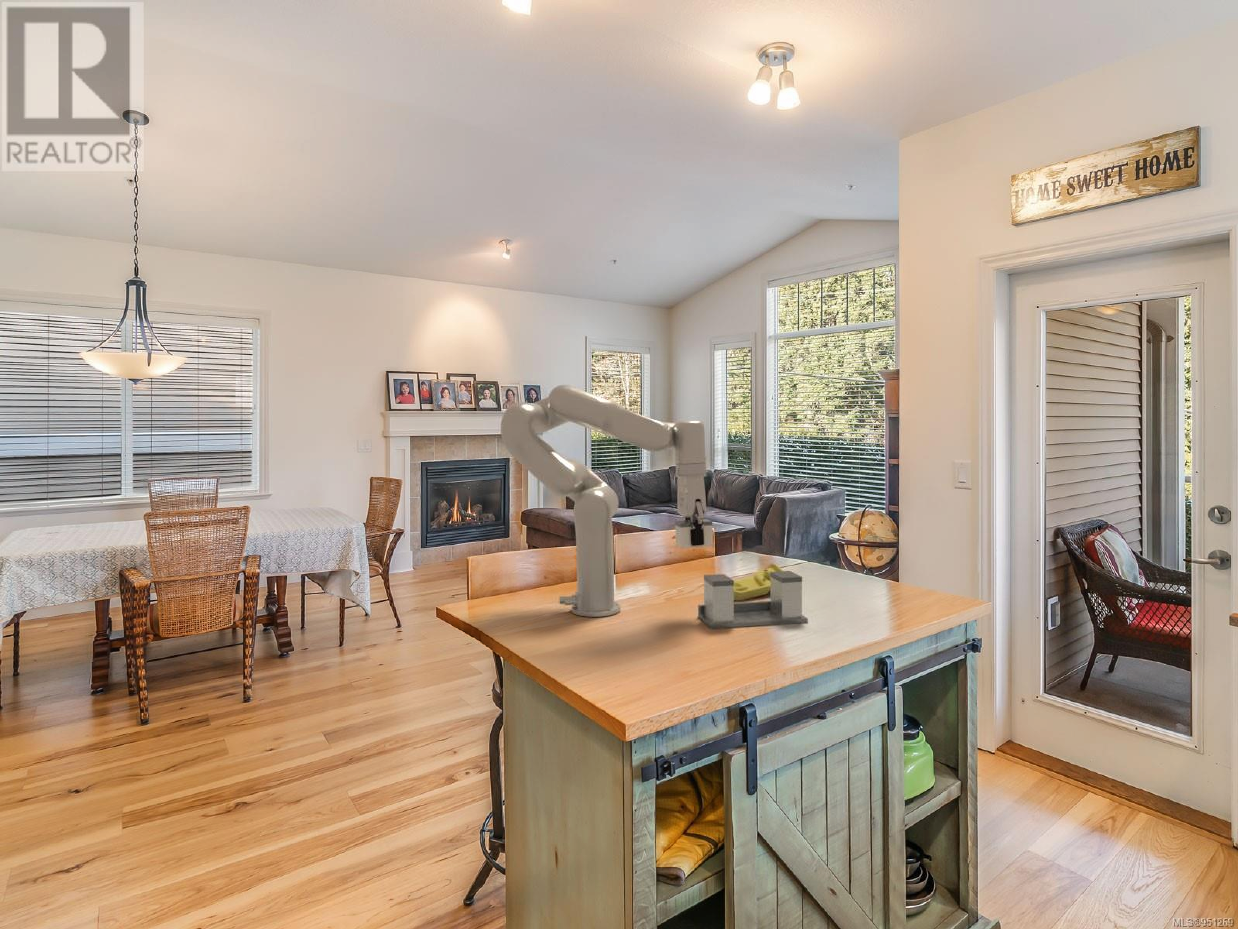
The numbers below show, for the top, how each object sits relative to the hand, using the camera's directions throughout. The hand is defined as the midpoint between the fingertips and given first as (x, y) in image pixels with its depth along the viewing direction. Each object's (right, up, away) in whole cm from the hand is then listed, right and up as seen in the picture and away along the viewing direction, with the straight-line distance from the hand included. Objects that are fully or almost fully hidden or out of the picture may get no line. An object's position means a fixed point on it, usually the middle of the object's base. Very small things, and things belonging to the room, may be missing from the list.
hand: (694, 542), depth 164 cm
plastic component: (+18, -17, +21) cm, 33 cm away
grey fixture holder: (+13, -18, -5) cm, 23 cm away
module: (0, -1, 0) cm, 1 cm away
